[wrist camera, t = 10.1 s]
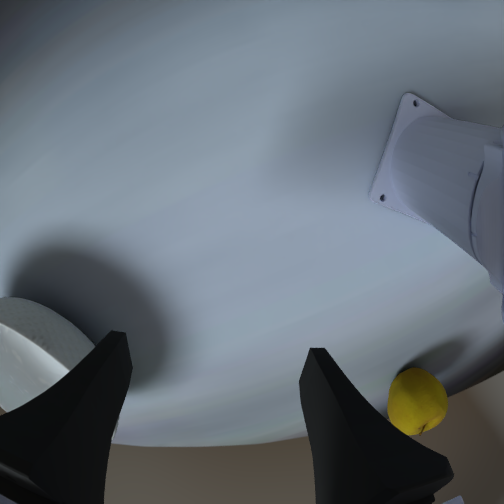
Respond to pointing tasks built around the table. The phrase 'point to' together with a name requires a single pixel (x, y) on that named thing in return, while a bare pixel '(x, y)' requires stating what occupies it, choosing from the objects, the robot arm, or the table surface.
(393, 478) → the robot arm
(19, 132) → the table surface
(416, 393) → the apple
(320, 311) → the table surface
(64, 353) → the cereal bowl
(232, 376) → the table surface
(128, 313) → the table surface
